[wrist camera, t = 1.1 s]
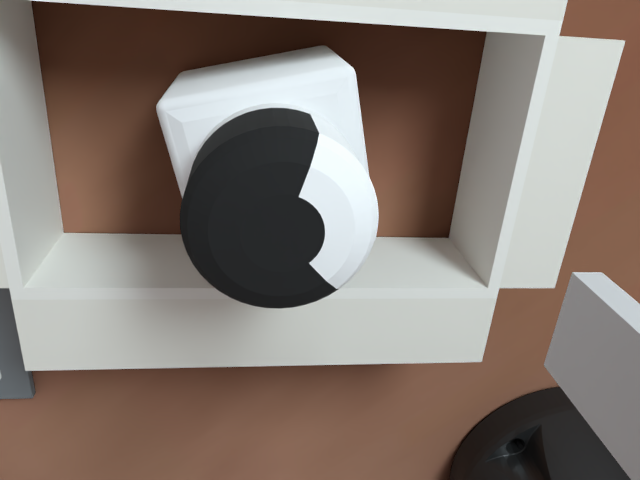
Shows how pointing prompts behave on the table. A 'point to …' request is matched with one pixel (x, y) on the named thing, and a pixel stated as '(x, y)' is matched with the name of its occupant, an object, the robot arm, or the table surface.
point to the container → (272, 175)
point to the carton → (387, 252)
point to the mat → (12, 355)
